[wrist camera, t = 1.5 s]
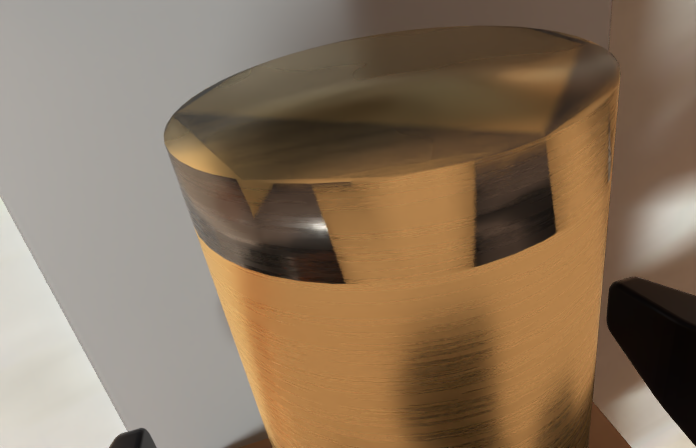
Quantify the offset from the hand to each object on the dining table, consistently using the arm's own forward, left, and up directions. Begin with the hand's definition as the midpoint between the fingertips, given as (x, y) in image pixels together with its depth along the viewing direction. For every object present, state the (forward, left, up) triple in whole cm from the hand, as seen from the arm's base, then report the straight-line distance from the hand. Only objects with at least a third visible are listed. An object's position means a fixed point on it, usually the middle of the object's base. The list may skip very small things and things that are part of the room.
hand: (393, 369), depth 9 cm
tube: (-2, 0, 0) cm, 2 cm away
